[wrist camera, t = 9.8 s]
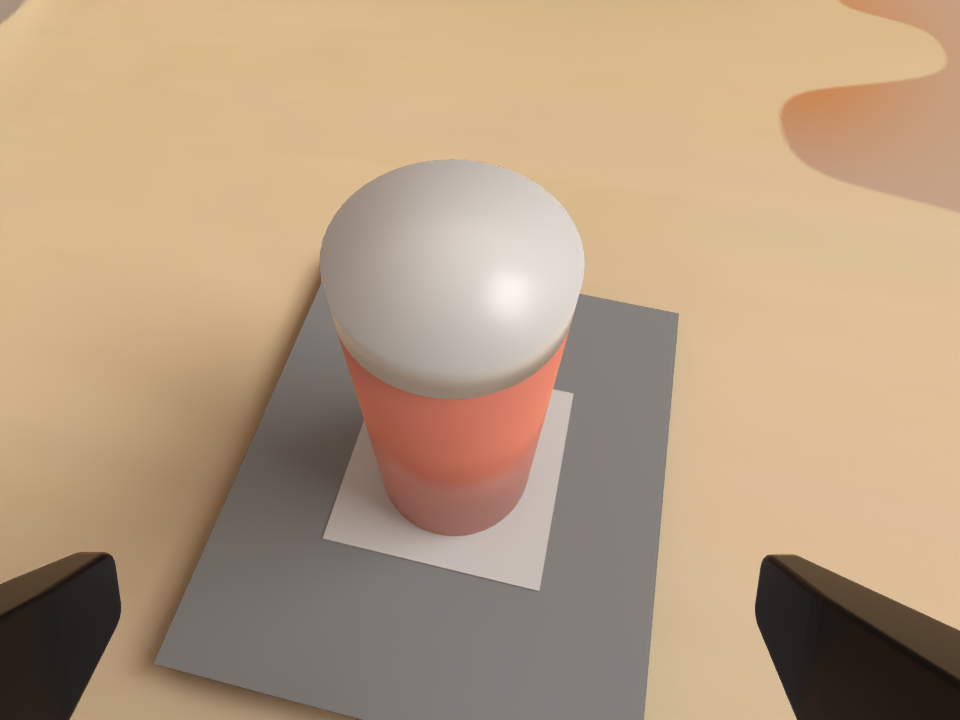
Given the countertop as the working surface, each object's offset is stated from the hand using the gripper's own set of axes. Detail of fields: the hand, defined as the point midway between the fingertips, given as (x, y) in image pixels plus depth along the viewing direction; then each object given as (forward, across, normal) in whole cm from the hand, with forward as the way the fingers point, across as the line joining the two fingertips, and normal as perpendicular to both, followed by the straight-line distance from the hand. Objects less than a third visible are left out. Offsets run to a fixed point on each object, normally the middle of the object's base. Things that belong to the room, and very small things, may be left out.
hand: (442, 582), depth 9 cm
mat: (+13, 0, +4) cm, 14 cm away
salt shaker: (+12, 0, +4) cm, 13 cm away
